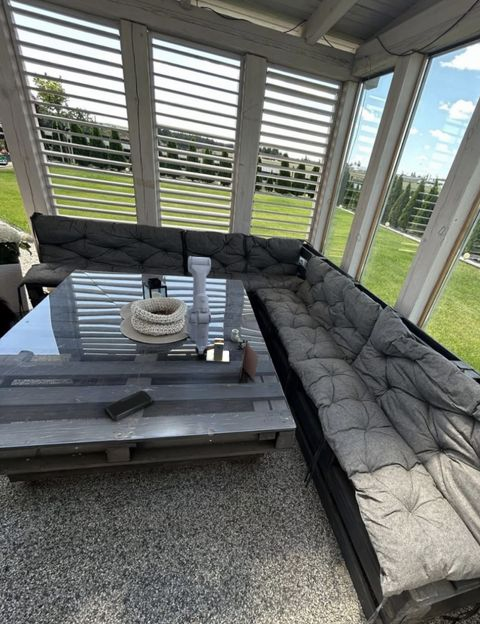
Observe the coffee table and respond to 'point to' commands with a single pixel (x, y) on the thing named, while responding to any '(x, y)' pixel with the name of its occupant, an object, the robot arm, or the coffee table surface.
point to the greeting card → (249, 361)
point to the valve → (238, 339)
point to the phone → (128, 405)
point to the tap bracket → (218, 352)
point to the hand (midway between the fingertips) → (201, 357)
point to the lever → (213, 345)
